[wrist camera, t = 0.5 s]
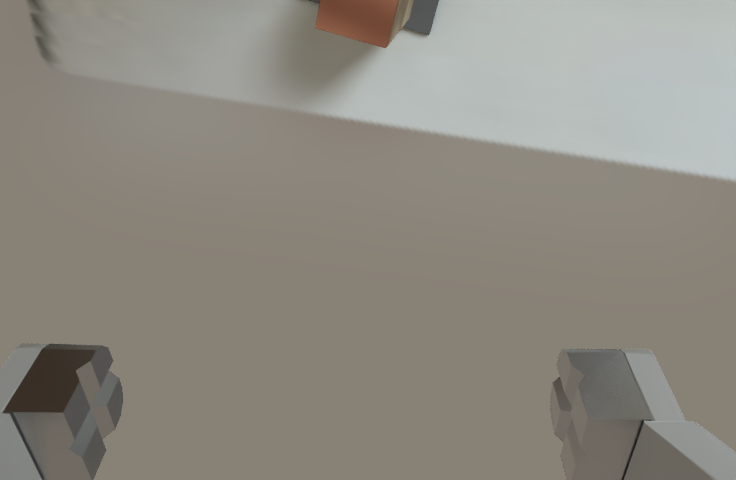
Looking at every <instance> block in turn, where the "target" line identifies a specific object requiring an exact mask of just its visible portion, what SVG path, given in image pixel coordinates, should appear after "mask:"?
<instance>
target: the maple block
mask: <svg viewBox="0 0 736 480" xmlns="http://www.w3.org/2000/svg"><path fill="white" fill-rule="evenodd" d="M413 3H414V0H320V5H319V11H318V16H317V21H316V27H315V28H317V29H321V30H324V31H328V32H331V33H334V34H338V35H341V36H345V37H348V38H352V39H355V40H359V41H362V42H366V43H369V44H373V45H376V46H380V47H383V48H386V47H387V46H388V45H389V43H390V42H391V41H392V40H393V38H394V37H395V36H396V35H397V33H398V32H399V31H400V30H401V28H402V27H403V26H404V25H405V23H406V22H407V21H408V20H409V18H410V14H411V11H412V7H413Z"/></svg>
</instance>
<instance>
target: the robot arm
mask: <svg viewBox="0 0 736 480" xmlns="http://www.w3.org/2000/svg"><path fill="white" fill-rule="evenodd" d="M112 362H113V359H112V356H111V354H110V351H109V349H108V347H105V346H102V345H71V344H26V343H25V344H23V343H22V344H21V345H19V346H17V347H16V348H14V350H13V351H12V353H11V354H10V355H9V357H8V359H7V360H6V361H5V363H4V364H3V366H2V367H1V369H0V480H93V479H94V477H95V475H96V472H97V470H98V468H99V465H100V463H101V461H102V459H103V456H104V454H105V452H106V448H105V445H104V443H103V440H102V439H103V438H105V437H106V436H107V435H109V434H110V433H111V432H112V431H114V430H115V428H116V426H117V424H118V421H119V419H120V416H121V410H122V404H123V392H122V386H121V383H120V379H119V378H118V377H117V376H116V375H114V374H113V373H112V372H110V371H109V368H110V366H111V364H112ZM557 367H558V371H559V375H560V377H559V378H558V379H557V380H555V381H554V382H553V385H552V390H551V401H550V402H551V404H550V407H551V408H550V411H551V418H552V424H553V428H554V433H555V435H556V436H557V437H558V438H559V439H560V440H561V441H562V442H563V448H562V452H561V460H562V463H563V467H564V471H565V475H566V478H567V480H736V452H735V451H733V450H732V449H731V448H729V447H728V446H727V445H725V444H724V443H723V442H721V441H720V440H719V439H717V438H716V437H715V436H713V435H712V434H711V433H709V432H708V431H707V430H705V429H704V428H703V427H701V426H700V425H699V424H697V423H696V422H689V421H686V420H685V418H684V416H683V414H682V412H681V410H680V408H679V405H678V403H677V401H676V399H675V397H674V395H673V393H672V391H671V389H670V387H669V385H668V383H667V380H666V378H665V376H664V374H663V372H662V370H661V368H660V366H659V364H658V362H657V360H656V358H655V356H654V353H653V352H652V351H650V350H649V349H619V350H618V349H562V350H561V352H560V354H559V357H558V361H557Z"/></svg>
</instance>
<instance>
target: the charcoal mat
mask: <svg viewBox="0 0 736 480" xmlns="http://www.w3.org/2000/svg"><path fill="white" fill-rule="evenodd" d="M310 1H313V2H317V3H320V0H310ZM438 1H439V0H414V3H413V7H412V11H411V14H410V18H409V20H408V21H407V22H406V23H405V25H404V26H403V27H404V28H408V29H411V30H415V31H418V32H422V33H425V34H430V30H431V27H432V23H433V19H434V16H435V12H436V8H437V5H438Z"/></svg>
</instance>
